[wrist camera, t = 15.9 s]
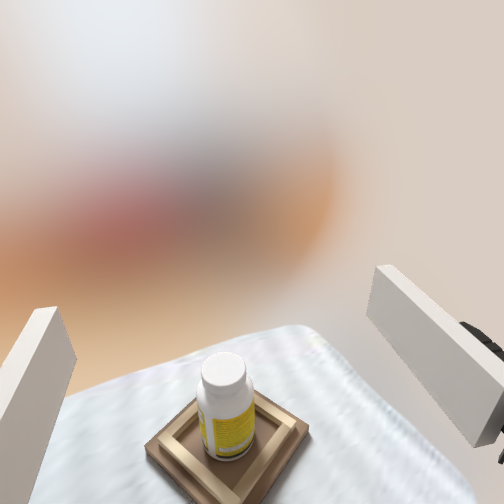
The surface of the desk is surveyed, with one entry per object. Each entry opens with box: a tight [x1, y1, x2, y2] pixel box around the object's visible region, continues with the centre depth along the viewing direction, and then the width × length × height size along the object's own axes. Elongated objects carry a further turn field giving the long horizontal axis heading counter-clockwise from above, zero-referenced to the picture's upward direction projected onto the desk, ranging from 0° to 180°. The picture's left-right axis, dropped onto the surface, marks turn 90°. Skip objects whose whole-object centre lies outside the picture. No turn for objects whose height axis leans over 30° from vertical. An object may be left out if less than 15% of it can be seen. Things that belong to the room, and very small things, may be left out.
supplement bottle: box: [196, 352, 255, 461], centre depth 31 cm, size 5×5×10 cm
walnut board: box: [144, 390, 309, 504], centre depth 34 cm, size 12×12×2 cm
